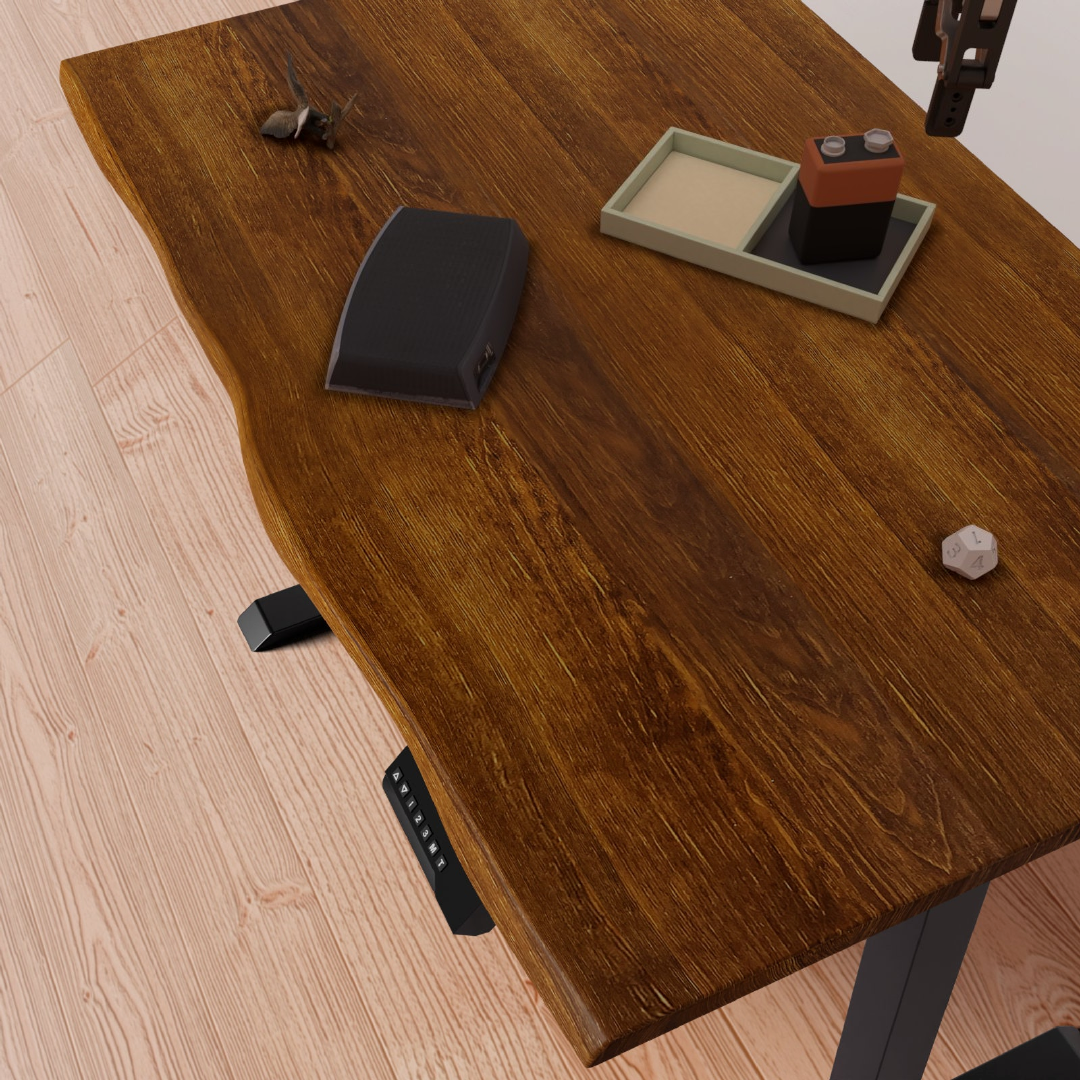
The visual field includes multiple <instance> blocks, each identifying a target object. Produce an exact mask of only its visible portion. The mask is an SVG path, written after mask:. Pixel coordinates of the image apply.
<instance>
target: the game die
mask: <svg viewBox="0 0 1080 1080" xmlns="http://www.w3.org/2000/svg"><path fill="white" fill-rule="evenodd" d="M941 550H942V551H941V553H942V564H943V566H944V567H945V568H946V569H948V570H950V571H952V572H955V573H956V574H958V575H960V576H962V577H964V578H966V579H968V580H970V581H973V580H976V579H978V578H980V577H981V576H983V575H985V574H987V573H988V572H990V571H991V570H994V569H995V568H996V566H997V565H998V561H999V558H998V542H997V540H996V538H995V536H994V534H993V533H992V532H988V531H987V530H985V529H983V528H981V527H979V526H976V525H974V524H969V525H965V526H963V527H962V528H960V529H958V530H957V531H956V532H953V533H952V534H950V535H949V536H947V537H946V538H945V539H944V540H943V541H942V542H941Z"/></svg>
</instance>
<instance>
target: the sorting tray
mask: <svg viewBox="0 0 1080 1080" xmlns="http://www.w3.org/2000/svg"><path fill="white" fill-rule="evenodd" d="M800 166H801V163H798V162H794V161H791V160H787V159H784V158H781V157H777V156H774V155H770V154H767V153H763V152H760V151H756V150H754V149H750V148H747V147H743V146H740V145H736V144H733V143H730V142H726V141H722V140H719V139H716V138H713V137H708V136H706V135H702V134H700V133H695V132H692V131H688V130H685V129H682V128H678V127H676V126H670V127H669V128H668V129H667V130H666V131H665V132H664V133H663V135H662V136H661V137H660V139H658V141H657V142H656V144H655V145H654V146H653V147H652V148H651V149H650V151H649V152H648V153H647V154H646V156H645V157H644V158H643V159H642V160H641V161H640V163H639V164H638V165H637V166H636V167H635V169H634V170H633V171H632V172H631V173H630V175H629V176H628V177H627V178H626V179H625V181H624V182H623V183H622V184H621V185H620V187H619V188H618V189H617V190H616V192H614V194H613V195H612V196H611V197H610V198H609V200H608V201H607V202H606V203H605V205H604V206H603V207H602V208H601V209H600V222H599V223H600V224H599V227H600V228H599V233H600V234H604V235H607V236H609V237H613V238H615V239H619V240H622V241H625V242H628V243H631V244H634V245H637V246H640V247H642V248H646V249H649V250H652V251H655V252H658V253H661V254H663V255H667V256H669V257H673V258H676V259H679V260H682V261H685V262H688V263H692V264H694V265H697V266H700V267H703V268H706V269H709V270H712V271H715V272H718V273H721V274H724V275H727V276H729V277H733V278H735V279H739V280H743V281H745V282H748V283H751V284H754V285H757V286H760V287H763V288H765V289H769V290H772V291H775V292H778V293H780V294H784V295H787V296H790V297H793V298H796V299H799V300H803V301H805V302H809V303H810V304H811V303H812V304H814V305H817V306H820V307H823V308H826V309H829V310H832V311H835V312H838V313H841V314H845V315H847V316H851V317H853V318H856V319H859V320H861V321H862V320H863V321H865V322H868V323H871V324H874V325H877V324H878V322H879V320H880V318H881V316H882V314H883V313H884V311H885V310H886V307H887V305H888V304H889V302H890V300H891V298H892V297H893V295H894V293H895V291H896V289H897V287H898V286H899V284H900V282H901V280H902V279H903V277H904V275H905V273H906V271H907V270H908V267H909V266H910V264H911V263H912V260H913V258H914V257H915V255H916V253H917V252H918V250H919V248H920V246H921V244H922V242H923V240H924V239H925V237H926V235H927V233H928V231H929V230H930V228H931V226H932V222H933V218H934V215H935V213H936V209H937V204H936V203H933V202H930V201H927V200H924V199H919V198H915V197H913V196H909V195H905V194H903V193H900V192H898V193H897V196H896V200H895V204H894V208H893V211H892V215H891V219H890V222H889V226H888V230H887V233H886V237H885V241H884V244H883V248H882V252H881V254H880V255H879V256H878V257H872V258H861V259H851V260H840V261H830V262H819V263H808V264H803V263H801V262H800V261H799V258H798V256H797V253H796V251H795V249H794V246H793V244H792V241H791V239H790V236H789V234H788V230H789V224H790V219H791V213H792V208H793V203H794V198H795V192H796V187H797V182H798V176H799V171H800Z"/></svg>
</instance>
